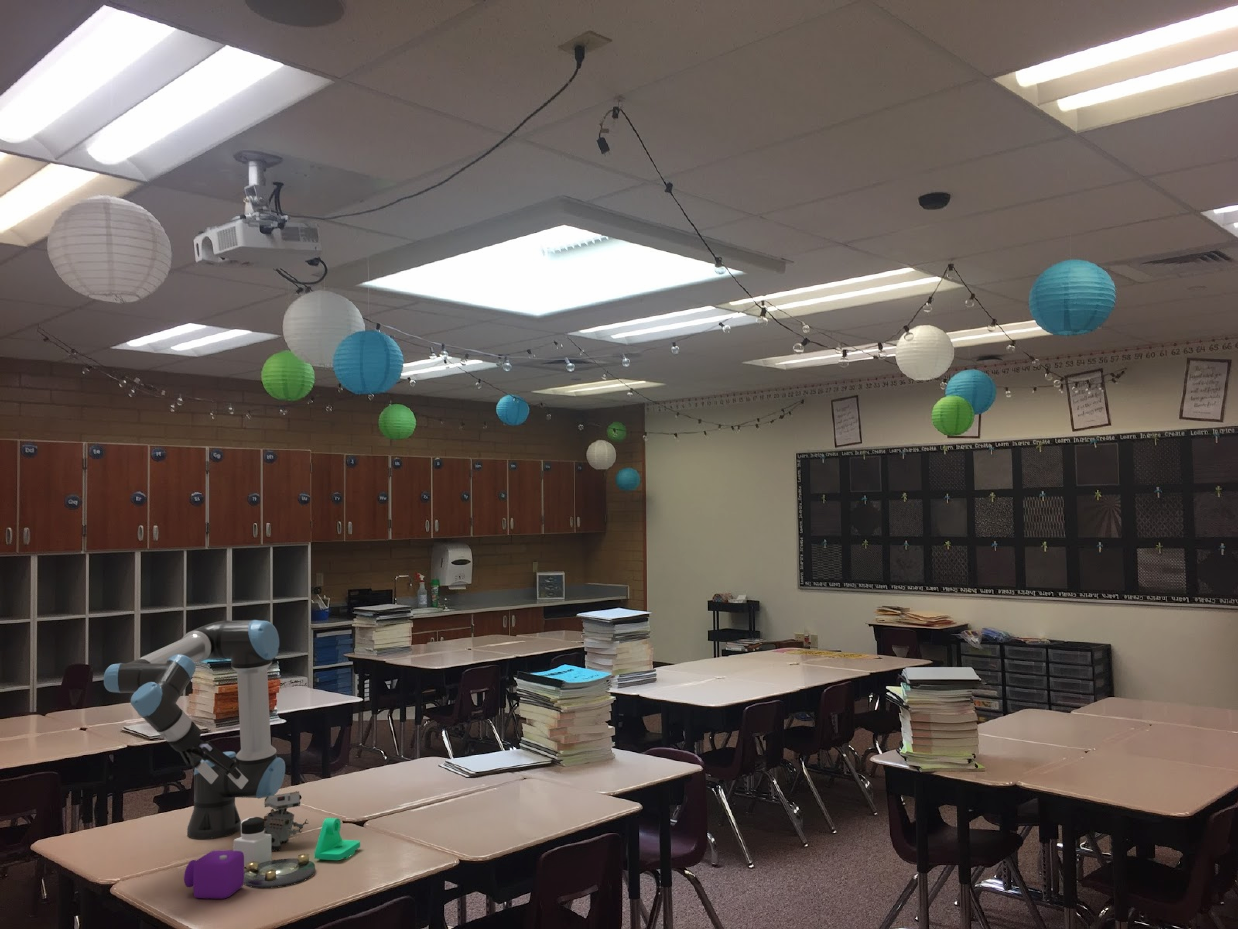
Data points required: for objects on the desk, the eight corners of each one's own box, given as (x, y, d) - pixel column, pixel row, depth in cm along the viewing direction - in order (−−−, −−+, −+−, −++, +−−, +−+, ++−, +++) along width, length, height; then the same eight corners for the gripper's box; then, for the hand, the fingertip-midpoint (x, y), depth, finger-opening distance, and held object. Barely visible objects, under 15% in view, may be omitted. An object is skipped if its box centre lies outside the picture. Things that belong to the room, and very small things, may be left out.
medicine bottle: (271, 860, 264) (272, 816, 265) (254, 869, 257) (254, 823, 258) (250, 858, 266) (251, 814, 267) (232, 866, 259) (233, 821, 260)
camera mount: (339, 864, 260) (339, 826, 261) (314, 862, 262) (314, 824, 262) (361, 850, 271) (361, 813, 272) (337, 848, 273) (337, 812, 274)
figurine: (300, 850, 271) (300, 797, 273) (258, 852, 271) (259, 798, 272) (308, 840, 281) (308, 788, 282) (268, 842, 280) (269, 790, 281)
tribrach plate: (230, 877, 251) (230, 863, 251) (293, 859, 264) (293, 846, 264) (262, 893, 239) (263, 879, 239) (327, 874, 252) (327, 860, 252)
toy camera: (192, 887, 244) (192, 847, 245) (246, 884, 245) (247, 844, 246) (176, 903, 233) (176, 861, 234) (233, 900, 235) (234, 858, 235)
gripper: (143, 739, 251) (192, 789, 261) (197, 747, 237) (248, 799, 247) (163, 717, 256) (211, 766, 266) (217, 723, 242) (266, 774, 252)
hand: (229, 782), depth 257 cm, fingers open, 13 cm apart
